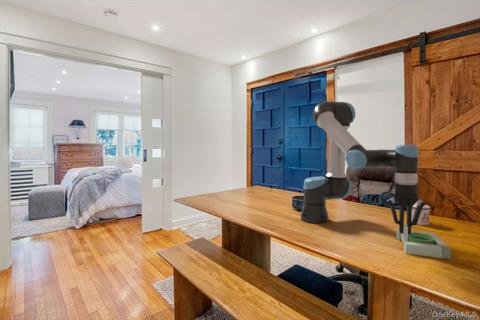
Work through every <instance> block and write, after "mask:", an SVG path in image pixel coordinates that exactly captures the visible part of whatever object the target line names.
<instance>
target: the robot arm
mask: <svg viewBox="0 0 480 320" xmlns="http://www.w3.org/2000/svg"><path fill="white" fill-rule="evenodd" d="M355 118H356V108H355V107H354V106H353V105H352V104H351V103H349V102H346V101H325V100H324V101H322V102H320V103H318V104H317V105H316V106H314V108H313V112H312V119H313V121H314V123H315V125H317V126H318V128H322V129H323V130H324V131H325V133H326V134H327V135H328V136H329V150H328V151H329V152H328V172H327V173H326V174H325V176H318V175H317V176H311V177H307V178H305V179H304V181H303V207H302V209H301V212H300V220H301V221H302V222H305V223H311V224H323V223H328V222H329V221H330V215H329V212H328V210H327V205H326V203H327V202H326V200H327V201H328V200H341V199H346V198H348V196H350V195H351V192H352V188H353V187H352V183H351V181H350V179H349V178H348V175H347V174H346V172H345V169H346V164H347V166H348V167H350V168H351V169H364V168H365V169H367V168H368V169H369V168H392V169H393V168H395V173H394V177H395V178H394V182H395V184H394V194H393V197H391V198H388V199H386V201H387V203H388V204H389V206H390V211H391V213H392V218H393V222H394V223H395V225H396V224H397V225H398V227H399V229H398V230H399V232H400V233H402V240H401V241H402V242H403V243H404V241H405V242H408V234H411V231H412V227H413V226H418V225H417V222H418V219H419V216H420V213H421V210H422V208H423V207H424V205H426V202H425V201H423V200H421V199H420V197H419V196H418V176H419V174H418V173H419V171H418V170H419V157H420V155H419V147H418V145H416V144H397V145H396V146H395V149H366V148H365V147H364V146H363V145H362V144H361V143H360V142H359V141H358V140H357V139H356V138H355V137H354V136H353V135H352V134H351V133H350V131H348V130H349V128H350V126H351V124H352V123H353V122H354V120H355ZM395 202H396V203H397V205H398V209H399V211H398V212H399V214H397V210H396V208H395ZM416 202H417V207H416V210H415V214H414V217H413V220H412V206H413V205H414V204H415V203H416ZM405 208H406V209H405ZM405 210H406V224H405Z"/></svg>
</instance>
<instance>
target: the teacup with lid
mask: <svg viewBox="0 0 480 320" xmlns="http://www.w3.org/2000/svg"><path fill="white" fill-rule="evenodd" d="M416 207H417V202H416V203H415V204H414V205H413V206H412V220H413V217H414V214H415V210H416ZM430 210H431V207H430V206H429V205H427V204H425V205H424V207H423V208H422V210H421V213H420V216H419V219H418V222H417V225H416V226H429V225H430V214H431V211H430Z"/></svg>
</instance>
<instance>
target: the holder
mask: <svg viewBox="0 0 480 320" xmlns="http://www.w3.org/2000/svg"><path fill="white" fill-rule="evenodd" d="M411 233H422V234H427V235H430V236H432V237H434V239H435V240H434V243H433V245H432V244H423V243H414V242H405V241H404V242H403V251H404V253H405V254H407V255H408V254H409V255H415V256H424V257H430V258H432V257H433V258H438V259H447V260H451V258H452V249H451V248H450V247H449V245H447V244H446V243H445V242H444V241H443V240H442V239H441V238H440V237H439V236H438V235H437V234H436V233H434V232H427V231H426V232H425V231H414V230H411ZM396 239H397V240H398V241H402V233H400V232H399V229H396Z"/></svg>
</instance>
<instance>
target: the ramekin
mask: <svg viewBox="0 0 480 320" xmlns="http://www.w3.org/2000/svg"><path fill="white" fill-rule="evenodd" d="M434 240H435V239H434V237H432V236H430V235H427V234H422V233H411V234H408V242H414V243H423V244H432V245H433V243H434Z"/></svg>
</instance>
